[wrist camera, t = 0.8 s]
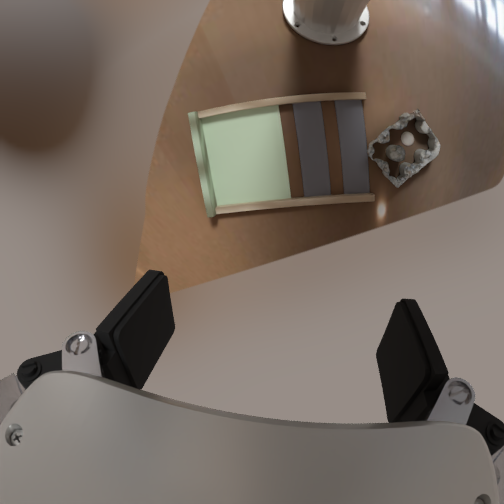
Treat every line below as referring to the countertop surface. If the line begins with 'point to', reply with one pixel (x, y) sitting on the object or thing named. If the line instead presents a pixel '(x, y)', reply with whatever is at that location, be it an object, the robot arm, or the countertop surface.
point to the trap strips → (316, 149)
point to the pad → (247, 155)
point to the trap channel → (268, 204)
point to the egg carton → (398, 152)
